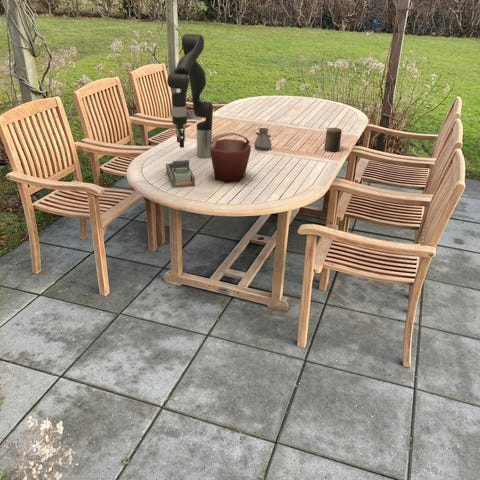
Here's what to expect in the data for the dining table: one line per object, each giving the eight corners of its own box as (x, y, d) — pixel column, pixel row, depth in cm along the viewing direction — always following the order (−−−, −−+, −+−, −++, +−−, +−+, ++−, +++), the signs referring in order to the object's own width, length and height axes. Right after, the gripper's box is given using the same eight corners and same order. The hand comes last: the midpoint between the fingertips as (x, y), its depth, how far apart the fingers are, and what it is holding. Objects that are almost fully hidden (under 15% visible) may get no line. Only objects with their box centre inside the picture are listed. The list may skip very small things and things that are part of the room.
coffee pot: (257, 144, 333) (258, 122, 326) (273, 147, 330) (275, 124, 322) (246, 154, 316) (246, 131, 308) (263, 157, 312) (264, 134, 305)
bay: (187, 170, 290) (186, 162, 287) (194, 185, 270) (194, 177, 268) (166, 171, 287) (165, 163, 284) (172, 187, 267) (172, 179, 265)
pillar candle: (337, 153, 323) (341, 130, 316) (322, 151, 326) (325, 128, 318) (340, 148, 331) (343, 126, 324) (325, 146, 334) (328, 124, 327)
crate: (187, 175, 279) (187, 157, 274) (190, 182, 271) (190, 163, 266) (172, 177, 277) (171, 158, 272) (175, 184, 269) (174, 164, 263)
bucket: (211, 186, 271) (211, 141, 259) (202, 171, 289) (202, 128, 277) (254, 182, 277) (257, 138, 265) (243, 168, 296) (244, 126, 283)
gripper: (189, 117, 251) (190, 148, 259) (184, 110, 263) (185, 140, 271) (174, 118, 249) (175, 149, 257) (170, 110, 261) (171, 140, 269)
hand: (180, 144), depth 264 cm, fingers open, 8 cm apart
